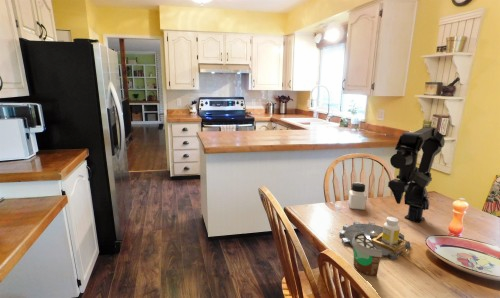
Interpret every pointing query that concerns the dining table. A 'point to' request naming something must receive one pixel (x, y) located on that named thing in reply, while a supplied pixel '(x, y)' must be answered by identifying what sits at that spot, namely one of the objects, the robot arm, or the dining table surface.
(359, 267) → the food container
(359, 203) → the medicine bottle
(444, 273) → the dining table surface
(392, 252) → the sprocket
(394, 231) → the supplement bottle
